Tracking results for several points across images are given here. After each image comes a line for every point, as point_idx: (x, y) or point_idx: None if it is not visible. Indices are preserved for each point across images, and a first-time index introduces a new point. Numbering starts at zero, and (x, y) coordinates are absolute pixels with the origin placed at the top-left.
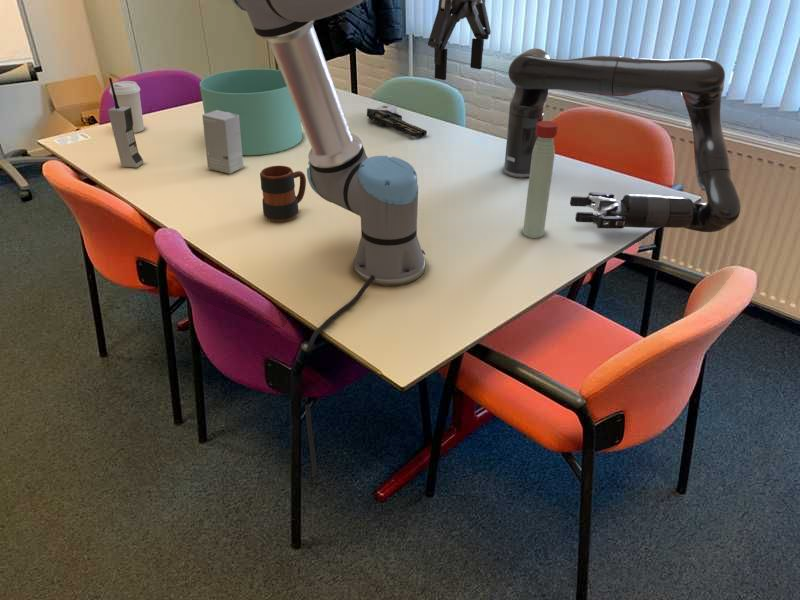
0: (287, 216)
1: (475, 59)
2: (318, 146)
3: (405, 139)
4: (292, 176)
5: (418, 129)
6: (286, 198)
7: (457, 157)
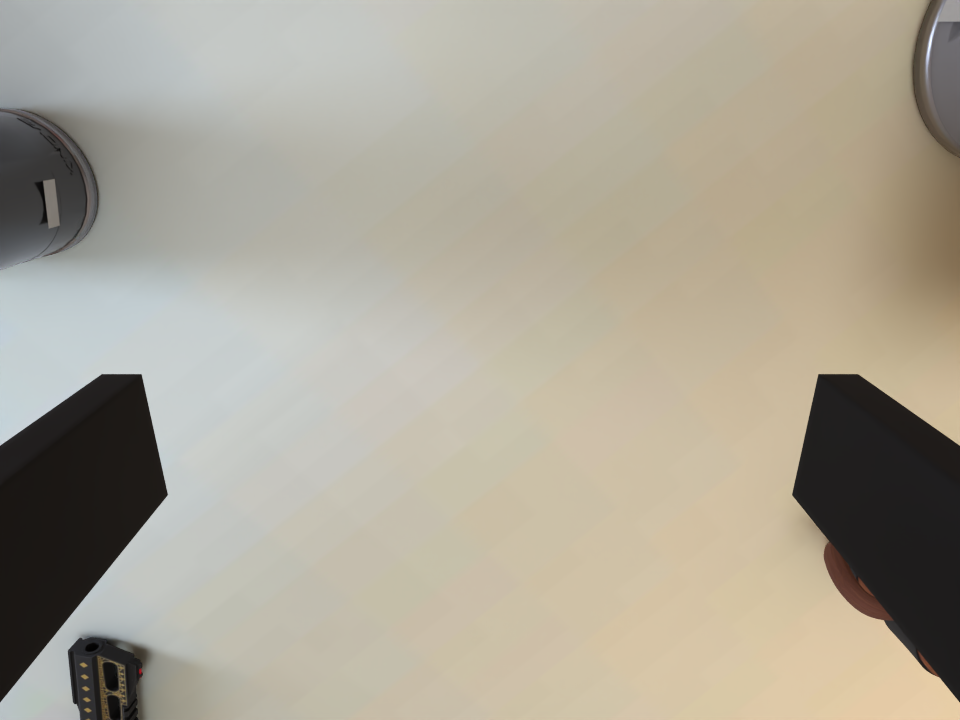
0: None
1: (97, 496)
2: None
3: (160, 662)
4: None
5: (91, 672)
6: None
7: None
